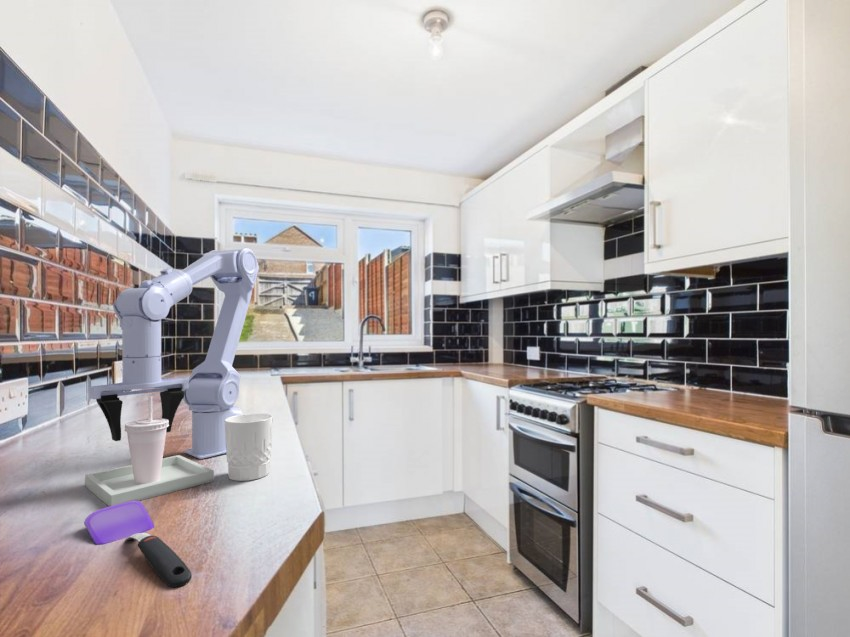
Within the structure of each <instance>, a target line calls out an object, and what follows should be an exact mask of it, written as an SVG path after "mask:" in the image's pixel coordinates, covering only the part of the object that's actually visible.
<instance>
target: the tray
mask: <svg viewBox="0 0 850 637" xmlns="http://www.w3.org/2000/svg"><path fill="white" fill-rule="evenodd" d="M214 474H215V471H214V469H212V468H210V467H208V466H205V465H203V464H200V463H198V462H196V461H194V460H191V459H189V458H187V457H184V456H183V455H180V454H178V455H177V454H176V455H173V456H172V455H171V456H167V457H164V458H163V460H162V468H161V475H160V479H159V480H157V481H155V482H151V483H145V484H136V483H134V477H133V470H132V464H129V465H125V466H121V467H116V468H110V469H106V470H100V471H96V472H92V473H87V474H85V475H84V486H85V487H86V489H88V490H89V491H90V492H92V493H93V495H95V496H96V497H97V498H99V499H100V500H101V501H102V502H103V503H105V505H107V507H109V506H113V505H117V504H120V503H124V502H129V501H140V502H141V501H144V500H147V499H151V498H155V497H159V496H163V495H166V494H170V493H174V492H177V491H181V490H185V489H189V488H193V487H197V486H200V485H205V484H208V483H210V482H214V480H215V476H214Z"/></svg>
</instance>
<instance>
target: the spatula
mask: <svg viewBox="0 0 850 637" xmlns="http://www.w3.org/2000/svg"><path fill="white" fill-rule="evenodd" d="M83 523H84V524H83V525H84V526H85V529H86V530H87V532H88V535H89V536H90V538H91V540H92V541H93V543H94V544H95V545H97V546H102V545H107V544H111V543H113V542H117V541H120V540H123V539H125V540H124V542H125V543H126V542H128V541H130V540H135V541H137V547H138V549H139V550H140V552H141V553H142V555H143V556H144V558H145V559H146V561H147V562H148V563H149V565H150V566H151V567H152V569H153V571H155V573H156V574H157V576H159V578H160V579H161V580H162V581H163V582H164V583H165V584H166V585H167V586H169V587H172V588H177V586H179V587H182V586H181V585H183V586H185V585H187V584H188V583H190V581H191V579H192V572H191V570H190V569H189V567H188V566H187V564H185V562H184V561H183V560H182V558H181V557H180V556H178V554H177V553H176V551H174V550H173V549H172V548H171V547H170V546H169V545H168V544H167V543H165V542H164V541H163V540H162V539H161V538H160V537H158V536H157V535H152V534H150V533H147V532H148V531H151V530H152V529H154V528H155V525H154V523H153V520H152V518H151V515H150V514H149V513H148V511H147V509H146V508H145V505H144V503H142V501H141V500H140V501H129V502H124V503H120V504H117V505H113V506H106V507H103V508H100V509H97V510H95V511H93V512H91V513H90V514H89V515H87V517H86V518H84V522H83ZM186 583H187V584H186ZM184 584H185V585H184Z"/></svg>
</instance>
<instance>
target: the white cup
mask: <svg viewBox="0 0 850 637" xmlns="http://www.w3.org/2000/svg"><path fill="white" fill-rule="evenodd" d="M273 417H274V416H273V415H272V414H268V413H245V414H244V413H243V415H237V416H232V417H229V418H226V419H225V439H226V453H225V454H226V462H227V467H228V470H227V471H228V479H229V480H231V481H236V482H246V481H247V482H248V481H249V482H250V481H255V480H259V479H262V478H265V477H267V476H268V475H269V474H270V473H271V472H270V471H271V467H270V466H271V465H270V464H271V456H272V443H273V442H272V441H273V419H274V418H273Z"/></svg>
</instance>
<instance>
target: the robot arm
mask: <svg viewBox="0 0 850 637" xmlns="http://www.w3.org/2000/svg"><path fill="white" fill-rule="evenodd" d="M259 270H260V267H259V263H258V260H257V256H256V254H255V253H254V252H253V250H252V249H250V248H248V247H247V248H246V247H244V248H241V249H226V250H225V249H224V250H216V249H214V250H210V251H208V252H206V253H203V254H202V256H201V257H200V258H198V259H197V260H196V261H194V262H192V263H191V264H189V265H188V266H186V267H185V268H184V269H181V270H179V269H176V268H174V269H172V268H163V269H162V270H160V271H159V273H160V274H159V275H157V276H156V277H154V278H152V279H148V280H147V279H145V280H143V281H141V282H140V284H141V285H140V286H138V287H132V288H125V289H124V290H122V291H121V292H120V293H119V295H118V296H117V297H116V300H115V302H113V303H112V308H113V311H114V313H115V315H116V317H118V320H119V328H121V331H122V332H121V333H122V336H121V338H122V346H121V347H122V359H121V361H122V363H121V364H122V366H121V367H122V372H121V376H122V382H117V383H109V384H103V385H102V384H101V385H94V386H93V385H91V386H89V398H90V399H92V400H96V403H97V405H98V406H99V408H100V409H101V412H102V413H103V416H104V417H105V419H106V421H107V424H108V427H109V430H110V434H111V435H110V436H111V439H112V440H113V441H115V442H120V441H122V440H121V439H122V427H121V426H122V425H121V423H122V422H121V419H122V417H121V416H122V408H123V400H121V399H120V397H122V396H129V395H130V396H132V395H140V394H148V393H158V392H159V398H160V403H161V419H167V420H169V426H168V427H167V430H166V433H171V431H172V426H173V422H174V418H175V416H176V413H177V411H178V408H179V406H180V405H181V402H182V401H184V404H186V406H188V410H189V411H191V448H187V449H184V451H183V452H184V454H187V455H190V456H191V457H194V458H197V459H199V460H201V459H206V458H210V457H217V456H220V455H224V454H226V439H225V419H226V418H229V417H232V416H237V415H244V413H243V412H242V410H241V408H240V407H238V406H236V405H235V404H236V402H237V401H238V399H239V395H240V379H241V375H240V373H239V372H238V371H237V370H236V369H235V368H234V367H233V363H234V360H235V356H236V353H237V350H238V346H239V343H240V339H241V335H242V331H243V328H244V325H245V322H246V321H245V320H246V319H247V313H248V310H249V306H250V303H251V300H252V296H253V289H254V287H255V284H256V280H257V276H258V273H259ZM208 278H210V279H211V280H212V282H213V283H214V285H215V286H216V288H217V289H218V291H221V292H222V293H223V294H224V298H223V301H222V304H221V308H220V311H219V314H218V318H217V321H216V325H215V327H214V330H213V333H212V337H211V340H210V344H209V346H208V347H209V348H208V350H207V354H206V357H205V359H204V361H203V362H201V363H200V364H199V365H197V366H196V367H194V368H193V369H192V372H191V373H190V374H191V375H189V377H188V378H186V377H180V378H163V379H162V319H166V317H167V316H168V315H169V312H170V309H171V308H172V306H174V305H176V304H177V303H180V301H182V300H184V299H185V298H187V297H188V296H190V295H191V294H192V291H193V286H194V285H197V284H199V283H200V282H202V281H204V280H206V279H208ZM132 390H133V391H132ZM234 405H235V406H234Z"/></svg>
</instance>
